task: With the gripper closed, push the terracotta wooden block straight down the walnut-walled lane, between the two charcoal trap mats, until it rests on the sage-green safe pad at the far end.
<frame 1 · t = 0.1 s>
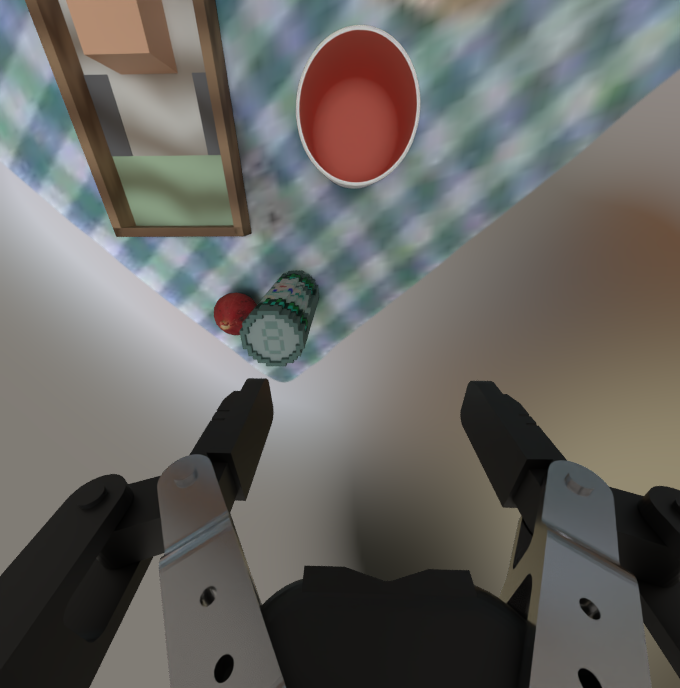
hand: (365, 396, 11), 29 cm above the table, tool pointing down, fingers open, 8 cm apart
block: (138, 32, 26), resting on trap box
can: (298, 291, 39), on the table
red oval fruit: (246, 304, 40), on the table
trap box: (160, 112, 30), on the table
cup: (354, 138, 30), on the table
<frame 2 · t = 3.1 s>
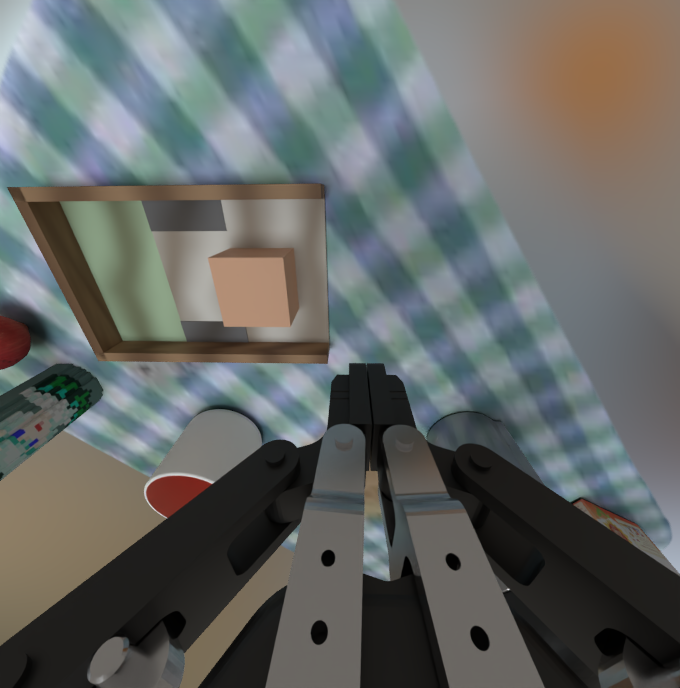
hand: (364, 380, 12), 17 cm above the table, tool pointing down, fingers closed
block: (266, 279, 26), resting on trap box
can: (78, 382, 34), on the table
red oval fruit: (27, 326, 30), on the table
cracker box: (592, 517, 44), on the table
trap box: (208, 279, 27), on the table
cup: (229, 430, 38), on the table
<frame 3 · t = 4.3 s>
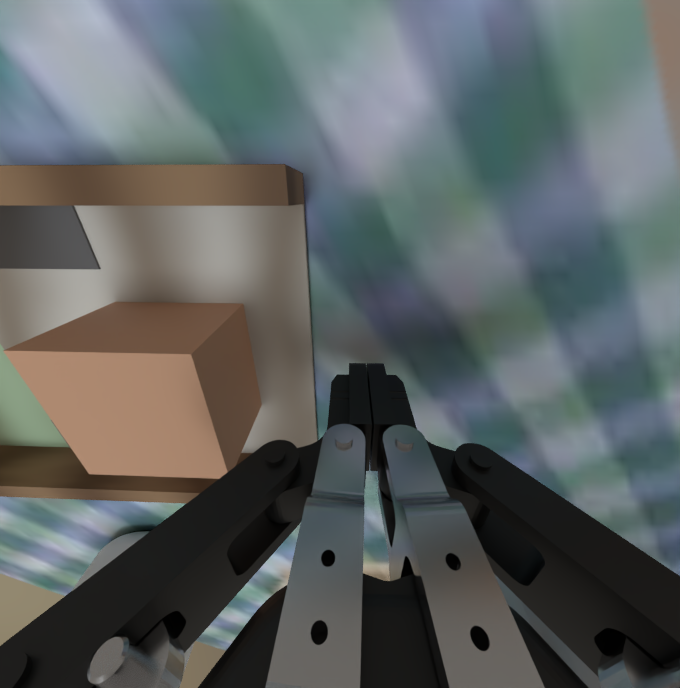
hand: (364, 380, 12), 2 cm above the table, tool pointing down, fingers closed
block: (195, 358, 14), resting on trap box
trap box: (86, 353, 14), on the table
cup: (168, 551, 25), on the table
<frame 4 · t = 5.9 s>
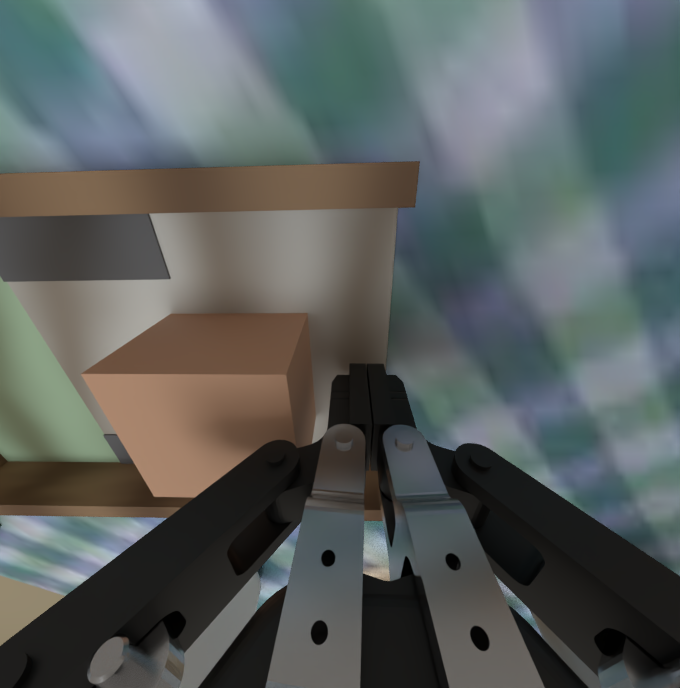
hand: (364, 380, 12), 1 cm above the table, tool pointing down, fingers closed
block: (251, 370, 13), resting on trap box, touching gripper
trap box: (145, 366, 13), on the table
cup: (210, 561, 24), on the table
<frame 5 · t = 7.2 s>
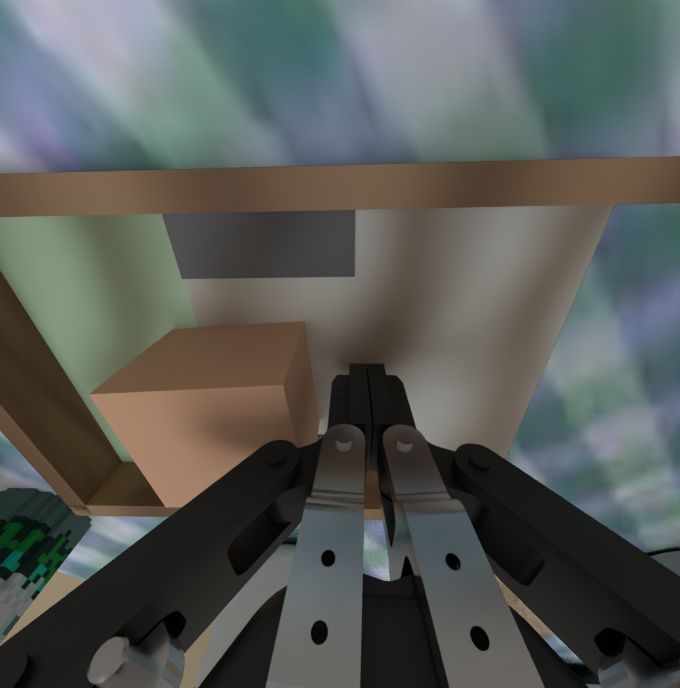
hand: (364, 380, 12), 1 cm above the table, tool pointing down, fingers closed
block: (253, 379, 13), resting on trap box, touching gripper
can: (49, 510, 21), on the table
spread jar: (553, 667, 38), on the table
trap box: (293, 365, 13), on the table
cup: (291, 562, 24), on the table
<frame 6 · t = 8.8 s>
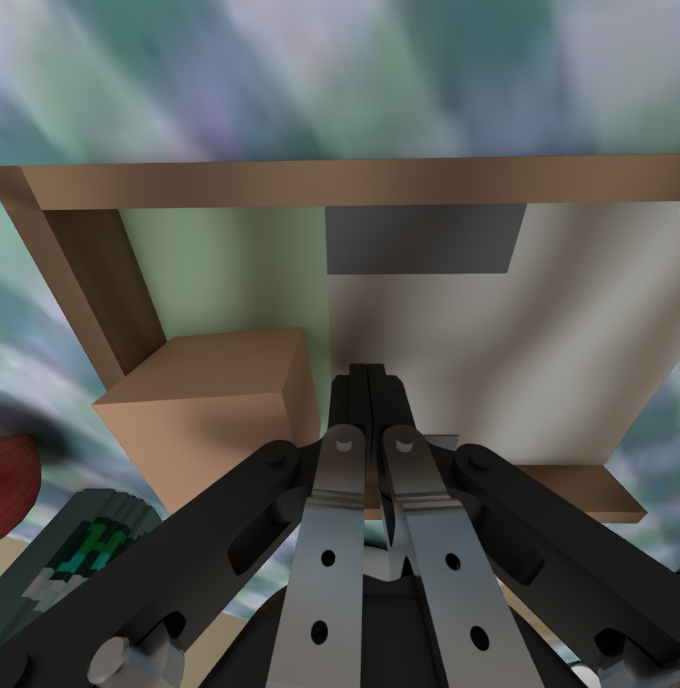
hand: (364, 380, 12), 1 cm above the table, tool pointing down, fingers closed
block: (254, 384, 13), resting on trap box, touching gripper
can: (119, 511, 20), on the table
spread jar: (593, 668, 38), on the table
red oval fruit: (33, 436, 16), on the table
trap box: (413, 364, 13), on the table
cup: (355, 563, 24), on the table
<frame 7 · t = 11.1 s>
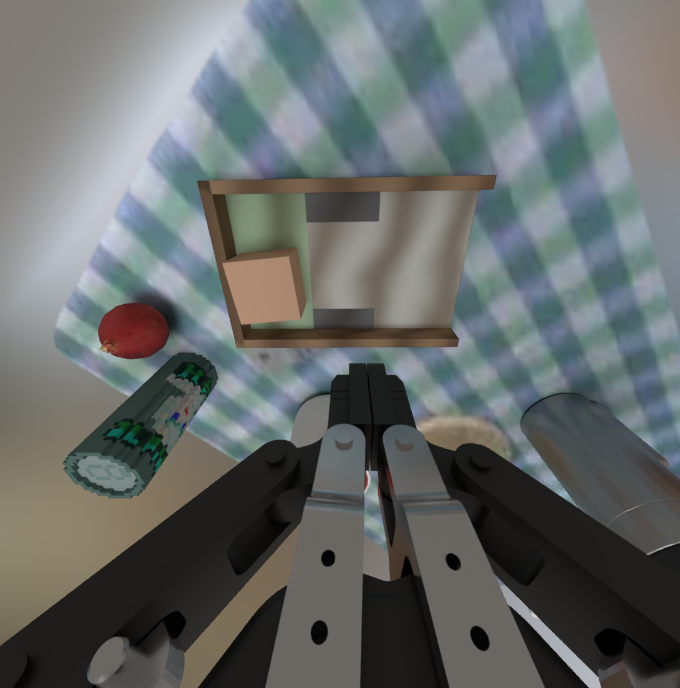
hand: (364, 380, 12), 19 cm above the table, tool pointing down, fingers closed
block: (274, 279, 29), resting on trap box
can: (194, 371, 36), on the table
red oval fruit: (158, 316, 32), on the table
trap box: (347, 268, 28), on the table
cup: (330, 416, 39), on the table
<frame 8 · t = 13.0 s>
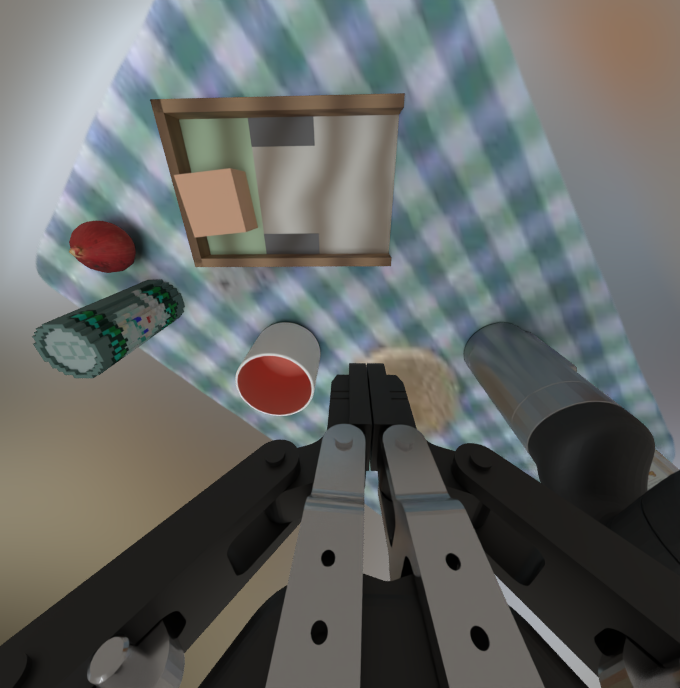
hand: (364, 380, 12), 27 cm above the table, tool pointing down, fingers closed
block: (228, 203, 32), resting on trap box
can: (163, 299, 39), on the table
red oval fruit: (128, 242, 36), on the table
cracker box: (604, 434, 50), on the table
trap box: (292, 192, 32), on the table
cup: (290, 347, 43), on the table
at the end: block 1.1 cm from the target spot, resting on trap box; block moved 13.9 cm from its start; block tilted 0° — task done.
